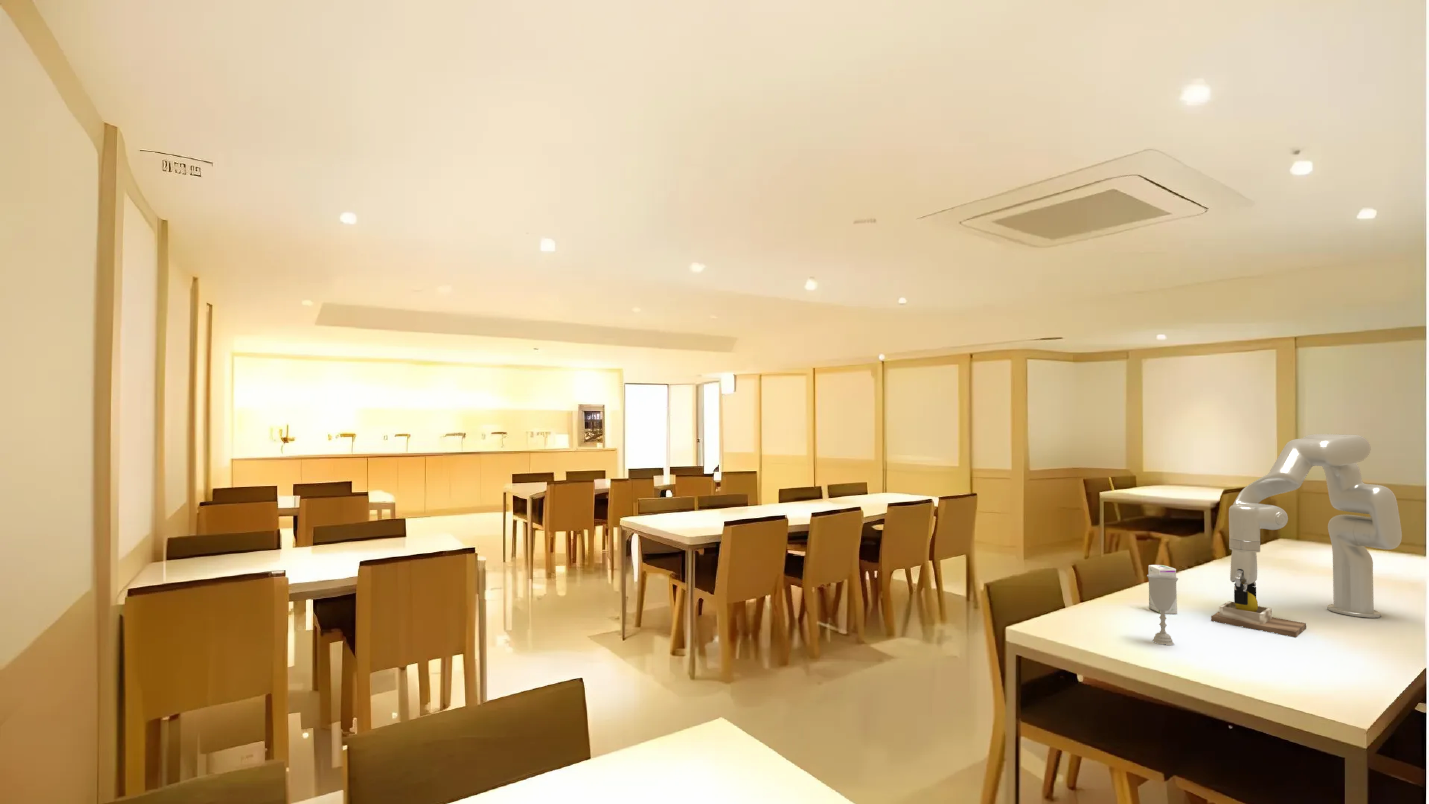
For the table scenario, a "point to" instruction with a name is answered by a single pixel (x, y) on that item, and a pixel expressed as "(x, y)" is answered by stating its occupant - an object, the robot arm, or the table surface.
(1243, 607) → the lemon
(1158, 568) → the syrup box
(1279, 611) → the table surface
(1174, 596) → the chalice
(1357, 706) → the table surface
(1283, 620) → the serving board
